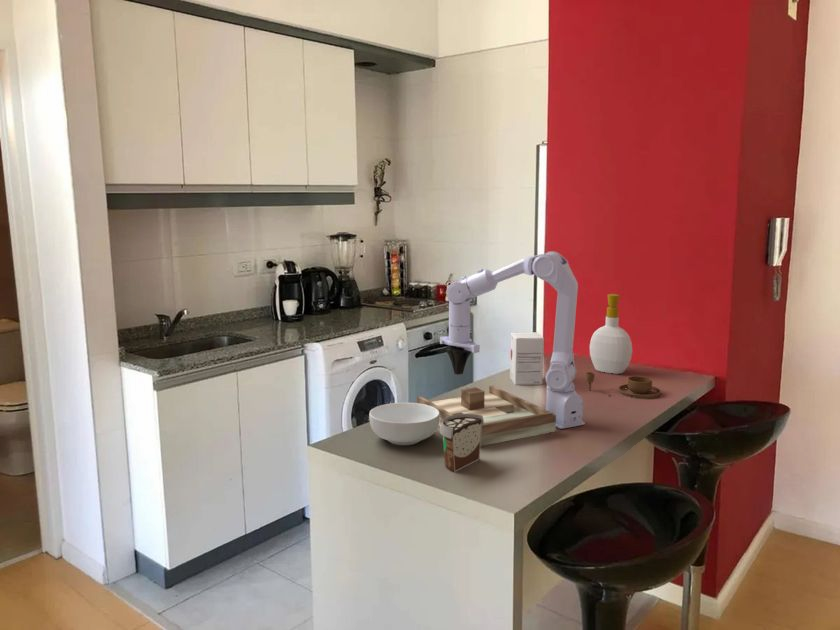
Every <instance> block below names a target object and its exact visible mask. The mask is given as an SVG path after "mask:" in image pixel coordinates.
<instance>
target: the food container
mask: <svg viewBox="0 0 840 630" xmlns="http://www.w3.org/2000/svg"><path fill="white" fill-rule="evenodd" d="M482 424H484V420H483V416H482V415H477V414H456V415H451V416H448V417H446V418H444V419H443V421H442V423H441V426H440V427H439V433H440V434H441V436H442V443H443V455H444V465H445V468H446V469H447V470H449V471H450V472H453V473H457V472H458V471H460V470H462V469H465V468H466V467H468V466H470V465H472V464H473V463H476V462H477V461H479V460H480V458H481V457H480V456H481V447H482V446H481V433H482Z"/></svg>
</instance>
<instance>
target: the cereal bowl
mask: <svg viewBox="0 0 840 630" xmlns="http://www.w3.org/2000/svg"><path fill="white" fill-rule="evenodd" d="M368 415H369V416H368V417H369V418H368V419H369V425H370V428H371V430H372V431H373V432H374V434H375V435H376V436H378V437H379V438H381V439H383V440H386V441H388V443H391V444H392V445H395V446H396V445H397V446H412V445H416V444H418V443H420V442H421V441H424V440H426V439H427V438H430V437H431V436H432V435H433V434H435V432H436V431H437V429H438V427H439V426H438V424H439V418H440V414H439V411H438V410H437V409H436V408H434V407H432V406H429V405H425V404H419V403H417V402H393V403H386V404H381V405H378V406H375V407H374V408H371V410H369V414H368Z"/></svg>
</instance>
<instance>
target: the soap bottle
mask: <svg viewBox="0 0 840 630" xmlns="http://www.w3.org/2000/svg"><path fill="white" fill-rule="evenodd" d="M619 298H620V295H619V294H616V293H610V294H607V303H608V306H607V307H606V316H605V325H603V326H601V327H599V328H598V329H596V330H595V331H594V332H593V333H592V336H591V339H590V341H589V342H590V343H589V356H590V359H591V363H592V365H593V366H594V369H595V370H596V371H598V372H600V373H604V372H605V373H604V374H611V373H613V374H612V375H620V374H624V373H625V371H626V370H627V368H628V367H629V365H630V362H631V360H632V356H633V343H632V340H631V337H630V335H629V334H628V332H627V331H626V330H625V329H624V328H621V327H620V326H619V320H620V319H619V318H620V317H619V307H617V306H618V303H619Z"/></svg>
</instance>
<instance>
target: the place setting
mask: <svg viewBox="0 0 840 630" xmlns="http://www.w3.org/2000/svg"><path fill="white" fill-rule="evenodd" d="M585 381H586V382H587V383H588V385H587V391H588V392H591V391H592V390H591V389H592V383H593V382H594V381H595V373H594V372H592V371H590V372H586V373H585ZM625 388H629V389H628V390H630V392H628V391H624V390H626V389H625ZM623 389H624V390H623ZM651 390H653V391H652V392H654V391H655V392H654V393H652V394H647V393H649V392H651ZM618 392H619V394H621V395H623V396H625V395H626V396H625V397H628V396H630V398H633V397H635V398H634V399H642V398H646V399H647V398H648V399H655V398H658V397H659V396H660V394H661V389H659V388H658V387H655V386H653V379H652V378H650V377H647V376H640V375H639V376H638V375H634V376H630V377H627V383H625V384H621V385H620V386H618ZM631 392H632V393H631ZM634 393H635V394H634ZM611 395H612V394H608V397H610V396H611ZM611 397H612V396H611Z"/></svg>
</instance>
